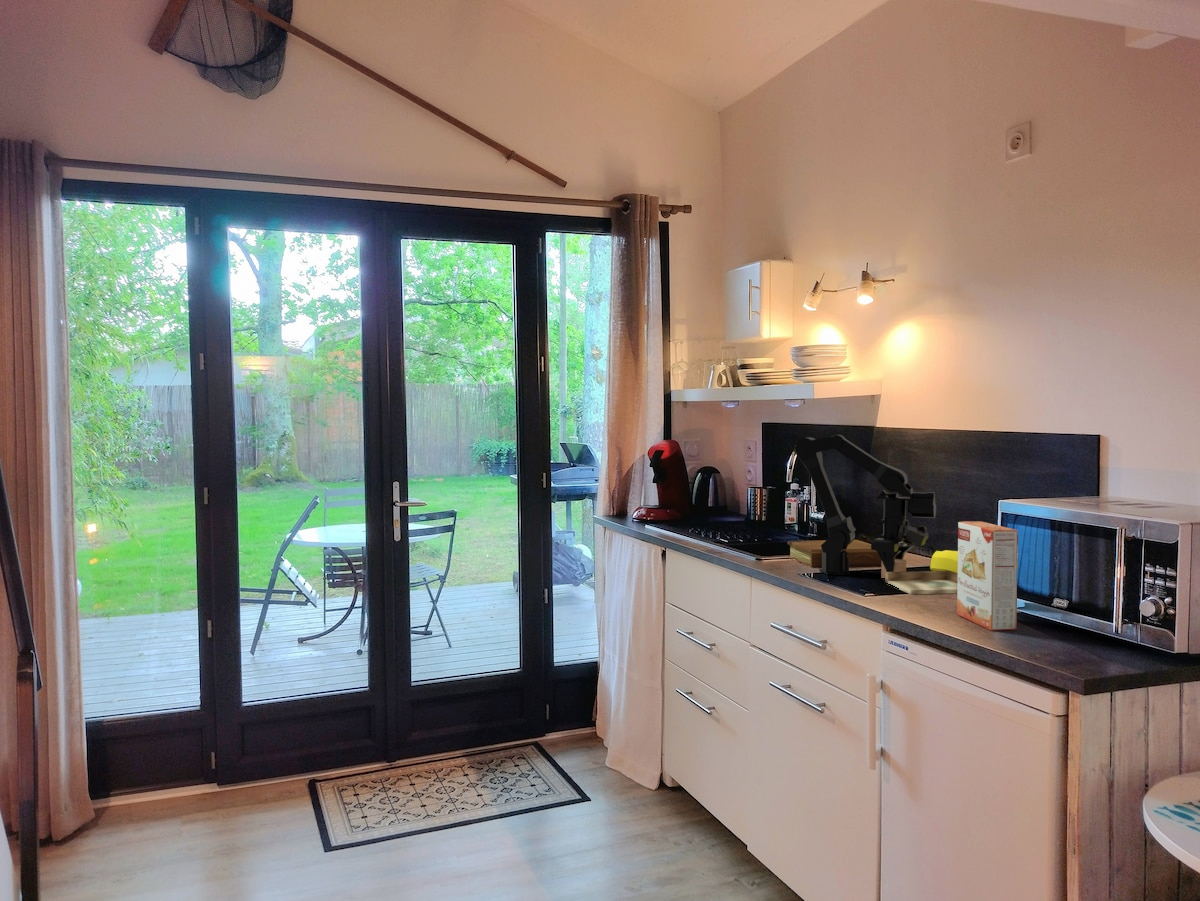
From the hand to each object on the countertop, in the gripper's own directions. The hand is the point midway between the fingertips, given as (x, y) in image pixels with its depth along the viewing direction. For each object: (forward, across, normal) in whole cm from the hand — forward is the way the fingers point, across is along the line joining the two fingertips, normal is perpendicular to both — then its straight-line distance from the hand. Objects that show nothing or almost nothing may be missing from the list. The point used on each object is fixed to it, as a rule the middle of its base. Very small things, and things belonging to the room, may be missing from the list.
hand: (893, 573), depth 230 cm
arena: (+1, -7, -12) cm, 14 cm away
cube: (+1, 0, 0) cm, 1 cm away
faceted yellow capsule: (+2, +16, -12) cm, 20 cm away
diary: (+2, +16, +23) cm, 29 cm away
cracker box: (+2, -38, -32) cm, 50 cm away
